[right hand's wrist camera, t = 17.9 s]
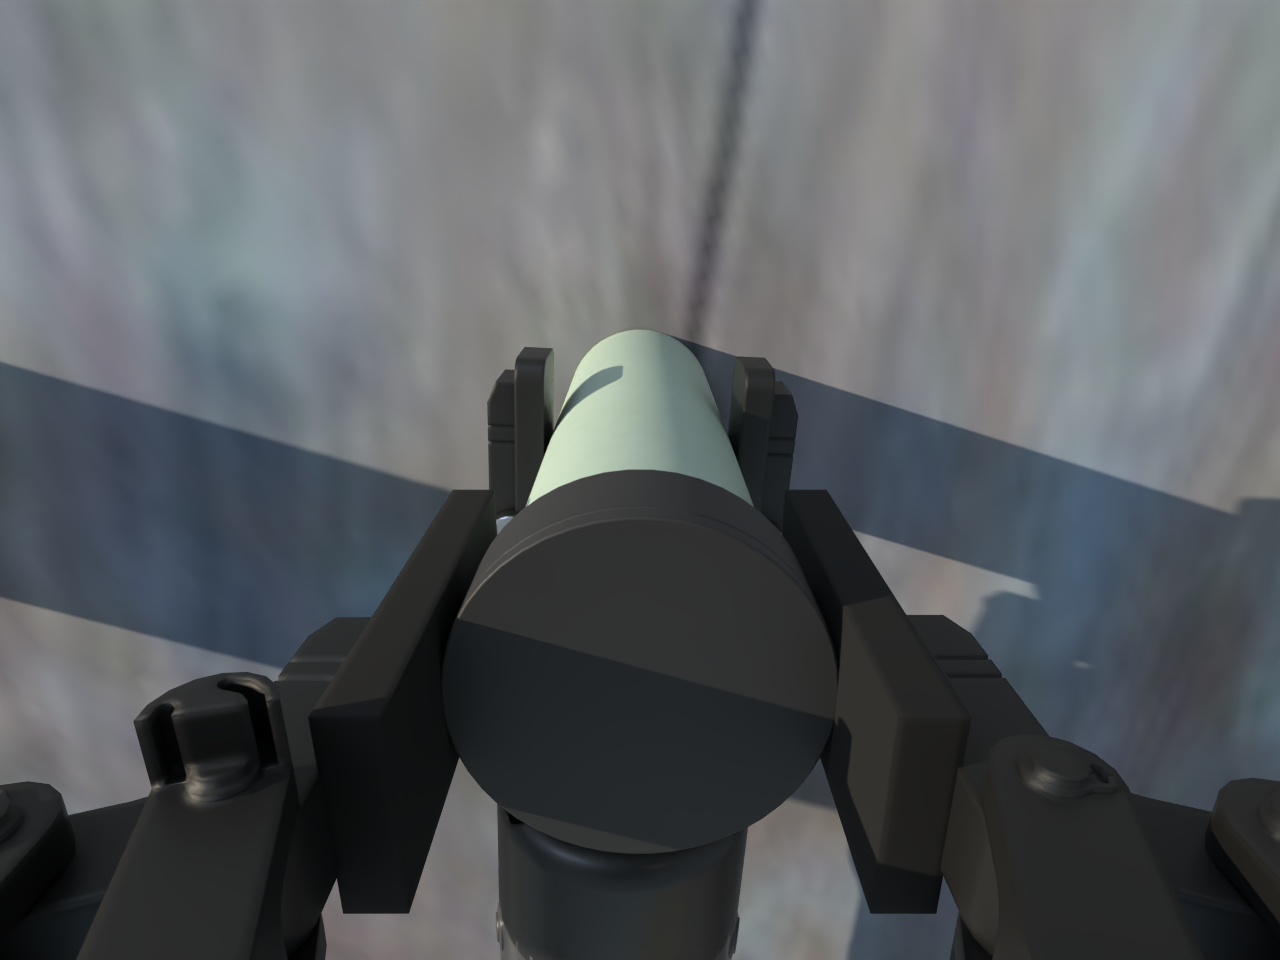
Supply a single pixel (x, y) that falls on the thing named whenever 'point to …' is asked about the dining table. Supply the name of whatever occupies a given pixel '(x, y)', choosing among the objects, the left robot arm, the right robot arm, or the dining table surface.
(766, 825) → the dining table surface
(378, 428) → the dining table surface
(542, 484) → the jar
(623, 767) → the lid
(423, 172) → the dining table surface
